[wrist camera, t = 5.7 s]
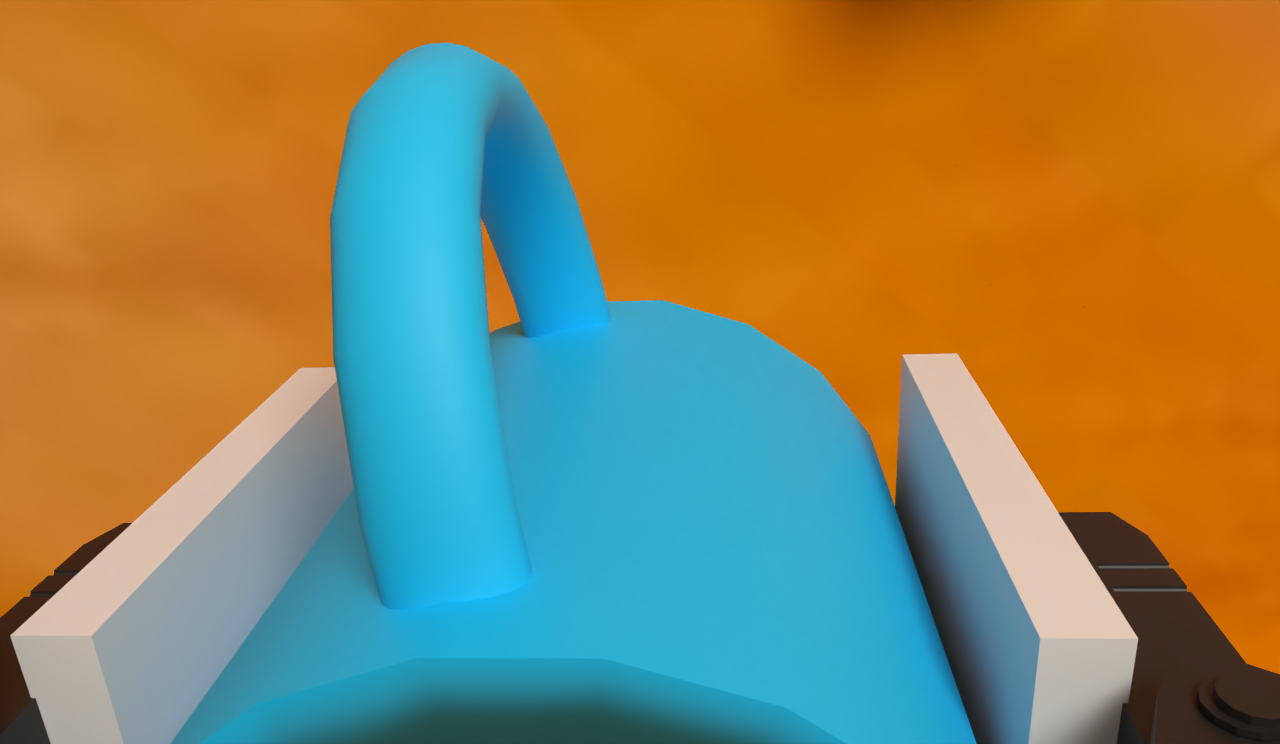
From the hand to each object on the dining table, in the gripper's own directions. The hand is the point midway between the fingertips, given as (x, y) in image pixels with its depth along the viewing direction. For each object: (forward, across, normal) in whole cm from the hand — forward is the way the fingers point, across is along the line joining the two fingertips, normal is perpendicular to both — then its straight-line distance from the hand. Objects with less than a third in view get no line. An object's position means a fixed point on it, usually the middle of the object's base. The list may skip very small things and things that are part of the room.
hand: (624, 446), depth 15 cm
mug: (+1, 0, 0) cm, 1 cm away
